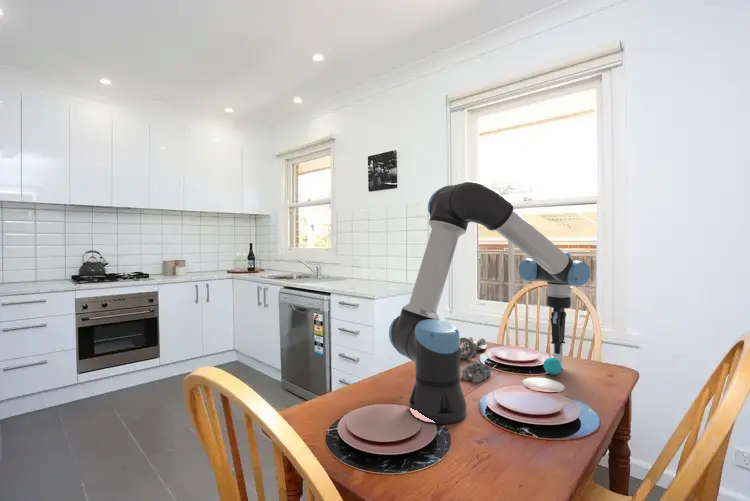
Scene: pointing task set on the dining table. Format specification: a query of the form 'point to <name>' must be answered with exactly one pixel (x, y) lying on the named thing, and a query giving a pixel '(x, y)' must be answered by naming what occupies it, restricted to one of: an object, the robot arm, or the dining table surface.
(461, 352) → the spaceship
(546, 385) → the disc
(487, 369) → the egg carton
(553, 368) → the ball
